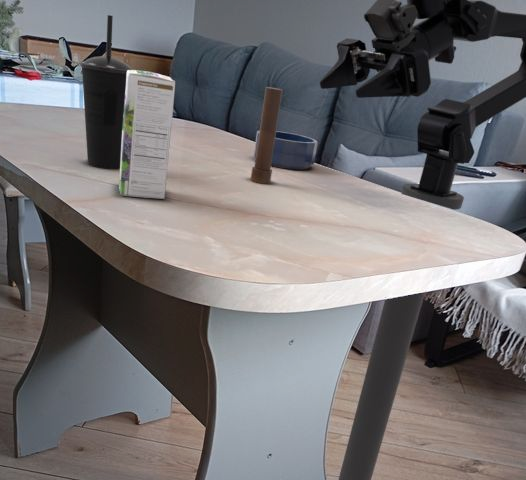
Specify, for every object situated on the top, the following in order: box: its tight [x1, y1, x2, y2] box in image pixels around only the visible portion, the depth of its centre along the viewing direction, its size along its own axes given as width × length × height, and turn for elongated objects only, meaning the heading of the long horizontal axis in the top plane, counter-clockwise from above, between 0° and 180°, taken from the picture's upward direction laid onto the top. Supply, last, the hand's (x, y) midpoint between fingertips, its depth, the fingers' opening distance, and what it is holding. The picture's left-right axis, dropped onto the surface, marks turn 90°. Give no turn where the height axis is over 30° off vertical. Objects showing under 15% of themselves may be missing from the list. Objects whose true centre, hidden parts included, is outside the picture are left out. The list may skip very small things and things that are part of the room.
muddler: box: [250, 86, 283, 185], centre depth 96 cm, size 3×3×14 cm
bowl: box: [253, 130, 319, 171], centre depth 117 cm, size 11×11×5 cm
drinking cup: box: [79, 14, 135, 170], centre depth 88 cm, size 8×8×20 cm
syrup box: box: [118, 69, 176, 200], centre depth 78 cm, size 6×6×14 cm
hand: (338, 89), depth 93 cm, fingers open, 9 cm apart
